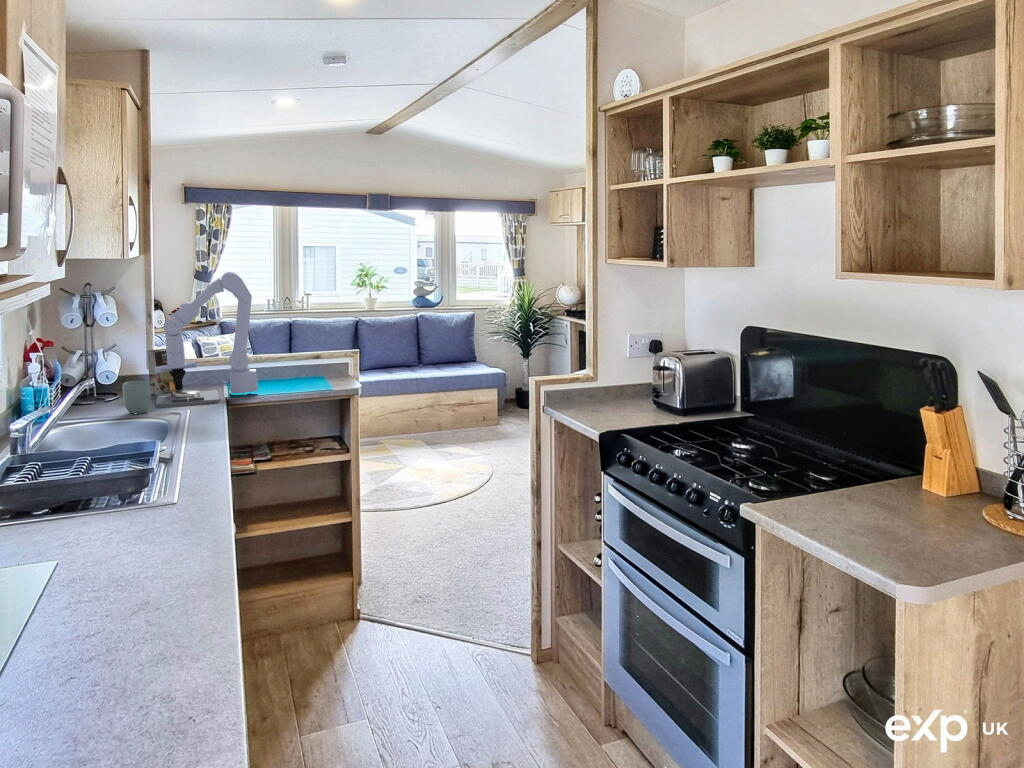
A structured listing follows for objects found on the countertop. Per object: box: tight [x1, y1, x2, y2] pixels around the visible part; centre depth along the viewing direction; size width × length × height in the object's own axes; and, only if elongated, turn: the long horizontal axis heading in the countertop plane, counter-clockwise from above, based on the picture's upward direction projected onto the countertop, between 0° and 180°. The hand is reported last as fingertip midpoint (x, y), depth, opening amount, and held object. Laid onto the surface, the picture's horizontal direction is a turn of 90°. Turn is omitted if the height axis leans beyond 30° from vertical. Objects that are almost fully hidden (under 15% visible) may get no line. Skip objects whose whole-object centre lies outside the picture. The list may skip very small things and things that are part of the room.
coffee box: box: [146, 348, 183, 396], centre depth 271 cm, size 9×6×16 cm
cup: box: [121, 380, 152, 414], centre depth 239 cm, size 8×8×10 cm
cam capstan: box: [169, 381, 200, 398], centre depth 259 cm, size 12×8×4 cm, turn 65°
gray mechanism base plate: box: [155, 389, 221, 409], centre depth 259 cm, size 20×18×3 cm
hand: (178, 390), depth 262 cm, fingers closed, pressing on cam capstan
